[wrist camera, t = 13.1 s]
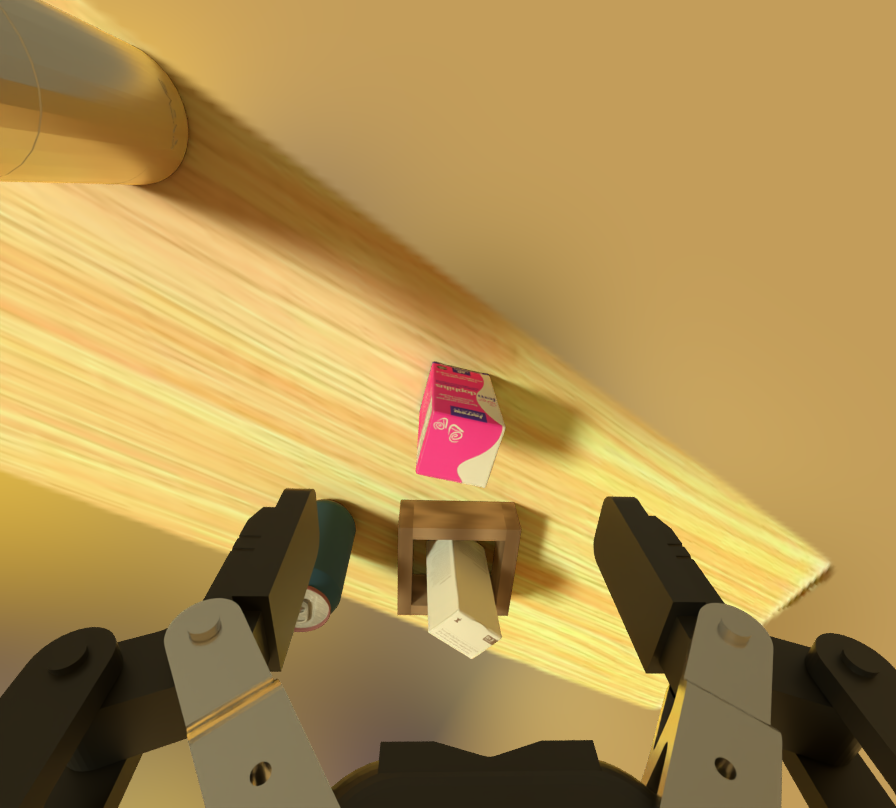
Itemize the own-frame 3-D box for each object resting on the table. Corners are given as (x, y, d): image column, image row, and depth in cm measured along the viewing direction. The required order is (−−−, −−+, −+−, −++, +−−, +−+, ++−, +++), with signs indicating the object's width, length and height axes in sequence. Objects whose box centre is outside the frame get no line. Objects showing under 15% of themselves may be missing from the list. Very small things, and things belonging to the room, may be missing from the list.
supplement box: (490, 371, 43) (509, 428, 33) (473, 424, 45) (486, 492, 35) (432, 357, 42) (432, 411, 32) (418, 412, 45) (414, 478, 34)
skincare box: (424, 541, 52) (422, 634, 41) (451, 518, 51) (457, 609, 40) (461, 567, 54) (469, 663, 43) (488, 546, 53) (503, 640, 42)
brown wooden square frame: (400, 583, 55) (397, 614, 50) (400, 499, 49) (398, 527, 45) (502, 584, 55) (507, 615, 51) (514, 502, 50) (521, 529, 46)
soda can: (295, 491, 48) (255, 578, 37) (359, 497, 49) (339, 585, 38) (294, 540, 51) (257, 634, 40) (355, 545, 52) (335, 639, 41)
